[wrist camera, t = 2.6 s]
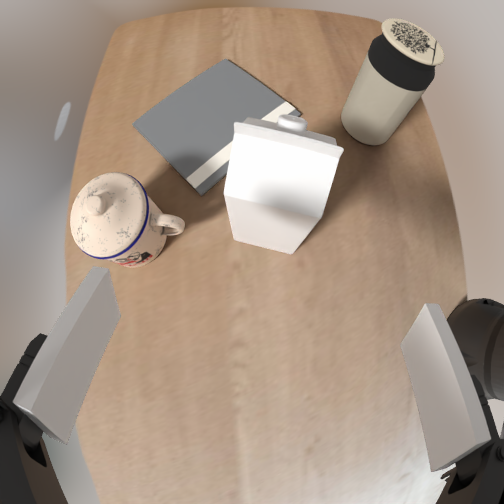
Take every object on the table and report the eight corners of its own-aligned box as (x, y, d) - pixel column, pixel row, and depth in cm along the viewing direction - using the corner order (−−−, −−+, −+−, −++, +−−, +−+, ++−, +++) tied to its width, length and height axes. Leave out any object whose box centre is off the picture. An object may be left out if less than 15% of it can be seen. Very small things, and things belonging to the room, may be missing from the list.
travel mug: (330, 124, 39) (369, 31, 21) (354, 94, 40) (393, 9, 23) (377, 156, 38) (439, 76, 21) (397, 124, 40) (452, 48, 22)
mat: (225, 61, 41) (225, 58, 41) (300, 116, 39) (301, 113, 39) (133, 126, 39) (131, 123, 38) (201, 196, 37) (200, 194, 36)
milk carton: (292, 255, 36) (336, 199, 17) (233, 240, 36) (217, 170, 17) (304, 200, 37) (348, 108, 18) (248, 186, 37) (248, 84, 19)
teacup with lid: (100, 267, 35) (48, 250, 24) (110, 199, 37) (67, 162, 25) (189, 274, 35) (162, 258, 24) (196, 200, 37) (176, 157, 25)
